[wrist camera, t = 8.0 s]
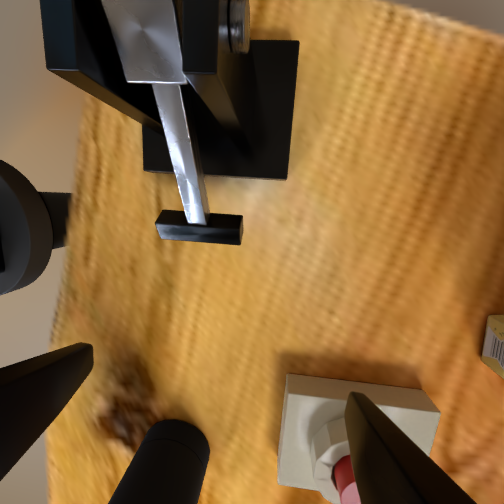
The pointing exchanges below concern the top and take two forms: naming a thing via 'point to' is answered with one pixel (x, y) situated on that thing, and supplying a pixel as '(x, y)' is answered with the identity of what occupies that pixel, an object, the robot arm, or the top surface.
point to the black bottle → (166, 467)
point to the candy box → (494, 344)
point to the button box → (339, 427)
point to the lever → (169, 111)
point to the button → (346, 481)
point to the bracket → (190, 84)
